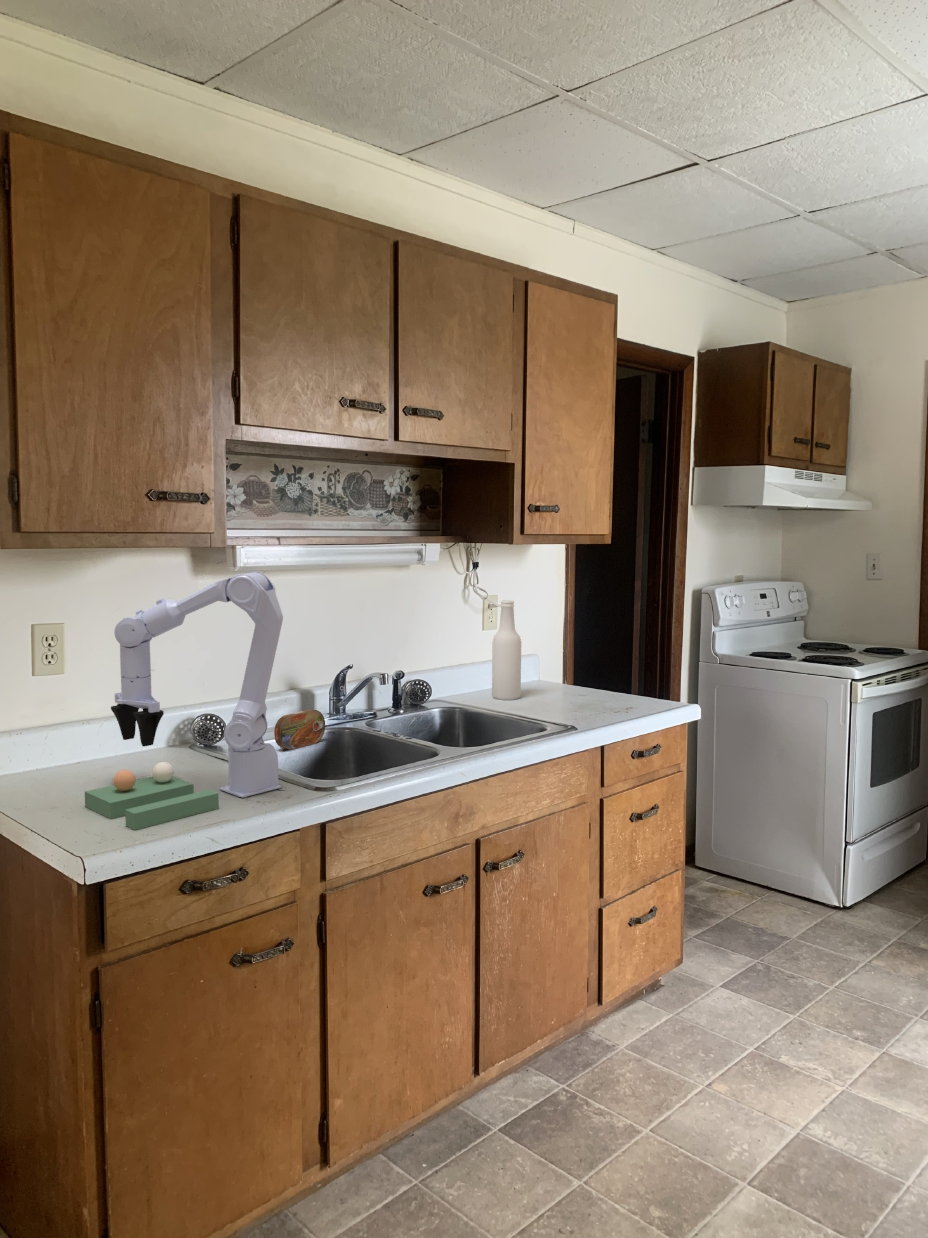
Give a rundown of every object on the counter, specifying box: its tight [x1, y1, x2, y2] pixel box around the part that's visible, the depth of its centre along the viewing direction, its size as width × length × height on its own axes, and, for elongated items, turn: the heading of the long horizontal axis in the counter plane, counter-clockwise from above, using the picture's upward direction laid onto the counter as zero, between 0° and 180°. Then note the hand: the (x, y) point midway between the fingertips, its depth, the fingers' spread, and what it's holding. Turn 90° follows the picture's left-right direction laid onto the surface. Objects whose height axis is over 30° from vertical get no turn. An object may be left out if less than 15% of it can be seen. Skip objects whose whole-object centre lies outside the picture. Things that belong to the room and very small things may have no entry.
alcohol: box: [491, 599, 522, 701], centre depth 284 cm, size 9×9×30 cm
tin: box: [273, 709, 326, 751], centre depth 224 cm, size 15×3×8 cm, turn 144°
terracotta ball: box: [112, 769, 137, 791], centre depth 176 cm, size 4×4×4 cm
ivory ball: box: [151, 761, 175, 783], centre depth 182 cm, size 4×4×4 cm
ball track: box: [84, 775, 220, 831], centre depth 176 cm, size 17×19×3 cm
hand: (138, 742), depth 188 cm, fingers open, 7 cm apart
